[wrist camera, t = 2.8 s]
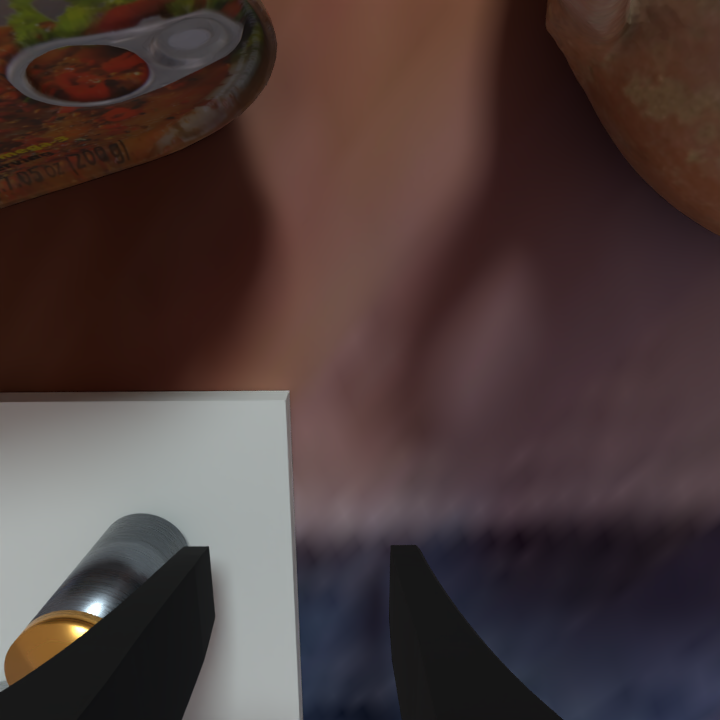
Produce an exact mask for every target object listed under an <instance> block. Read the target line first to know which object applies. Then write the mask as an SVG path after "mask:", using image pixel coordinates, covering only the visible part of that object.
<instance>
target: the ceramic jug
mask: <svg viewBox="0 0 720 720" xmlns="http://www.w3.org/2000/svg"><path fill="white" fill-rule="evenodd" d="M545 25H546V29H547V31H548V32H549V33H550V35H551V36H552V37H553V38H554V40H555V41H556V43H557V46H558V47H559V48H560V49H561V51H562V52H563V53H564V55H565V57H566V59H567V61H568V64H569V66H570V68H571V69H572V71H573V72H574V74H575V77H576V79H577V81H578V82H579V84H580V85H581V86H582V88H583V90H584V91H585V93H586V95H587V97H588V99H589V101H590V102H591V104H592V106H593V108H594V110H595V112H596V114H597V116H598V118H599V119H600V121H601V123H602V125H603V126H604V128H605V129H606V131H607V132H608V134H609V135H610V137H611V139H612V140H613V142H614V143H615V145H616V146H617V147H618V149H619V150H620V152H621V153H622V154H623V156H624V157H625V158H626V160H627V161H628V162H629V164H630V165H631V166H632V167H633V168H634V169H635V171H636V172H637V173H638V174H639V175H640V176H641V177H642V178H643V179H644V180H645V181H646V182H647V183H648V184H649V185H650V186H651V187H652V188H653V189H654V190H655V191H656V192H657V193H658V194H659V195H661V196H662V197H663V198H664V199H665V200H666V201H668V202H669V203H670V204H671V205H672V206H673V207H675V208H676V209H677V210H679V211H680V212H681V213H683V214H684V215H686V216H687V217H689V218H690V219H692V220H693V221H695V222H696V223H698V224H700V225H701V226H703V227H704V228H706V229H708V230H709V231H711V232H713V233H715V234H717V235H719V236H720V0H548V2H547V12H546V22H545Z"/></svg>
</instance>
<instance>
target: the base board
mask: <svg viewBox="0 0 720 720" xmlns="http://www.w3.org/2000/svg"><path fill="white" fill-rule="evenodd" d="M137 513H145V514H152V515H156V516H159V517H161V518H164V519H166V520H167V521H169V522H171V523H172V524H173V525H174V526H176V527H177V528H178V529H179V531H180V532H181V533H182V534H183V536H184V538H185V540H186V542H187V545H188V546H209V551H210V562H211V574H212V585H213V596H214V607H215V621H214V625H213V629H212V633H211V637H210V641H209V645H208V648H207V652H206V656H205V660H204V663H203V665H202V668H201V671H200V674H199V676H198V679H197V681H196V684H195V687H194V689H193V692H192V695H191V697H190V700H189V703H188V705H187V708H186V710H185V713H184V716H183V718H182V720H303V708H302V683H301V659H300V635H299V611H298V587H297V563H296V539H295V515H294V490H293V466H292V442H291V418H290V394H289V391H166V392H7V393H0V682H1V681H7V680H6V677H5V672H4V661H5V657H6V654H7V652H8V650H9V648H10V646H11V645H12V644H13V642H14V641H15V640H16V639H17V638H18V636H19V635H20V634H21V633H22V632H23V630H24V629H25V628H26V627H27V626H28V624H29V623H30V622H31V621H32V620H33V618H34V617H35V616H36V615H37V613H38V612H39V611H40V610H41V609H42V607H43V606H44V605H45V604H46V603H47V601H48V600H49V599H50V598H51V597H52V595H53V594H54V593H55V592H56V591H57V589H58V588H59V587H60V586H61V584H62V583H63V582H64V581H65V580H66V578H67V577H68V576H69V575H70V574H71V572H72V571H73V570H74V569H75V568H76V566H77V565H78V564H79V563H80V562H81V560H82V559H83V558H84V557H85V555H86V554H87V553H88V552H89V551H90V549H91V548H92V547H93V546H94V545H95V543H96V542H97V541H98V540H99V539H100V537H101V536H102V535H103V534H104V533H105V531H106V530H107V529H108V528H109V527H110V525H111V524H113V523H114V522H115V521H116V520H118V519H119V518H122V517H124V516H127V515H130V514H137Z"/></svg>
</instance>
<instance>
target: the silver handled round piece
mask: <svg viewBox="0 0 720 720" xmlns="http://www.w3.org/2000/svg"><path fill="white" fill-rule="evenodd" d="M184 546H188V545H187V542H186V540H185V538H184V536H183V534H182V533H181V532H180V531H179V529H178V528H177V527H176V526H174V525H173V524H172V523H171V522H169V521H167V520H166V519H164V518H161V517H159V516H156V515H152V514H145V513H137V514H130V515H127V516H124V517H122V518H119V519H118V520H116V521H115V522H114V523H113V524H111V525H110V527H109V528H108V529H107V530H106V531H105V533H104V534H103V535H102V536H101V537H100V539H99V540H98V541H97V542H96V543H95V545H94V546H93V547H92V548H91V549H90V551H89V552H88V553H87V554H86V555H85V557H84V558H83V559H82V560H81V562H80V563H79V564H78V565H77V566H76V568H75V569H74V570H73V571H72V572H71V574H70V575H69V576H68V577H67V578H66V580H65V581H64V582H63V583H62V584H61V586H60V587H59V588H58V589H57V591H56V592H55V593H54V594H53V595H52V597H51V598H50V599H49V600H48V601H47V603H46V604H45V605H44V606H43V607H42V609H41V610H40V611H39V612H38V613H37V615H36V616H35V617H34V618H33V620H32V621H31V622H30V623H29V624H28V626H27V627H26V628H25V629H24V630H23V632H22V633H21V634H20V635H19V636H18V638H17V639H16V640H15V641H14V642H13V644H12V645H11V646H10V648H9V650H8V652H7V654H6V657H5V661H4V672H5V677H6V680H7V681H1V682H0V692H1V691H2V690H4V689H6V688H7V687H9V686H10V685H12V684H14V683H15V682H17V681H18V680H20V679H22V678H23V677H25V676H26V675H28V674H29V673H31V672H32V671H34V670H35V669H36V668H38V667H39V666H41V665H42V664H43V663H45V662H46V661H48V660H49V659H51V658H52V657H53V656H55V655H56V654H58V653H59V652H60V651H62V650H63V649H64V648H66V647H67V646H69V645H70V644H71V643H72V642H74V641H75V640H76V639H78V638H79V637H80V636H82V635H83V634H84V633H85V632H86V631H88V630H89V629H90V628H91V627H93V626H94V625H95V624H96V623H97V622H99V621H100V620H101V619H102V618H104V617H105V616H106V615H107V614H108V613H110V612H111V611H112V610H113V609H115V608H116V607H117V606H118V605H119V604H121V603H122V602H123V601H124V600H125V599H126V598H127V597H128V596H130V595H131V594H132V593H133V592H134V591H135V590H136V589H137V588H139V587H140V586H141V585H142V584H143V583H144V582H145V581H146V580H147V579H149V578H150V577H151V576H152V575H153V574H154V573H155V572H156V571H157V570H158V569H159V568H161V567H162V566H163V565H164V564H165V563H166V562H167V561H168V560H169V559H170V558H171V557H172V556H174V555H175V554H176V553H177V552H178V551H179V550H180V549H181V548H183V547H184Z"/></svg>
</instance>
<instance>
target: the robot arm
mask: <svg viewBox="0 0 720 720" xmlns="http://www.w3.org/2000/svg"><path fill="white" fill-rule="evenodd" d="M214 621H215V607H214V596H213V585H212V574H211V562H210V551H209V546H184V547H183V548H181V549H180V550H179V551H178V552H177V553H176V554H175V555H174V556H172V557H171V558H170V559H169V560H168V561H167V562H166V563H165V564H164V565H163V566H162V567H161V568H159V569H158V570H157V571H156V572H155V573H154V574H153V575H152V576H151V577H150V578H149V579H147V580H146V581H145V582H144V583H143V584H142V585H141V586H140V587H139V588H137V589H136V590H135V591H134V592H133V593H132V594H131V595H130V596H128V597H127V598H126V599H125V600H124V601H123V602H122V603H121V604H119V605H118V606H117V607H116V608H115V609H113V610H112V611H111V612H110V613H108V614H107V615H106V616H105V617H104V618H102V619H101V620H100V621H99V622H97V623H96V624H95V625H94V626H93V627H91V628H90V629H89V630H88V631H86V632H85V633H84V634H83V635H82V636H80V637H79V638H78V639H76V640H75V641H74V642H72V643H71V644H70V645H69V646H67V647H66V648H64V649H63V650H62V651H60V652H59V653H58V654H56V655H55V656H53V657H52V658H51V659H49V660H48V661H46V662H45V663H43V664H42V665H41V666H39V667H38V668H36V669H35V670H34V671H32V672H31V673H29V674H28V675H26V676H25V677H23V678H22V679H20V680H18V681H17V682H15V683H14V684H12V685H10V686H9V687H7V688H6V689H4V690H2V691H1V692H0V720H182V718H183V716H184V713H185V710H186V708H187V705H188V703H189V700H190V697H191V695H192V692H193V689H194V687H195V684H196V681H197V679H198V676H199V674H200V671H201V668H202V665H203V663H204V660H205V656H206V652H207V648H208V645H209V641H210V637H211V633H212V629H213V625H214ZM389 623H390V638H391V653H392V663H393V669H394V675H395V681H396V687H397V693H398V699H399V705H400V711H401V717H402V720H563V719H562V718H561V717H559V716H558V715H557V714H556V713H555V712H554V711H553V710H552V709H550V708H549V707H548V706H547V705H546V704H545V703H544V702H542V701H541V700H540V699H539V698H538V697H537V696H536V695H535V694H533V693H532V692H531V691H530V690H529V689H528V688H527V687H526V686H525V685H524V684H523V683H522V682H521V681H520V680H519V679H518V678H517V677H516V676H515V675H514V674H513V673H512V672H511V671H510V670H509V669H508V668H507V667H506V666H505V665H504V664H503V663H502V662H501V661H500V660H499V658H498V657H497V656H496V655H495V654H494V653H493V652H492V651H491V650H490V649H489V647H488V646H487V645H486V644H485V643H484V642H483V640H482V639H481V638H480V637H479V636H478V634H477V633H476V632H475V631H474V629H473V628H472V627H471V626H470V624H469V623H468V622H467V621H466V619H465V618H464V617H463V615H462V614H461V613H460V611H459V610H458V609H457V607H456V606H455V604H454V603H453V602H452V600H451V599H450V597H449V596H448V595H447V593H446V592H445V590H444V589H443V587H442V586H441V584H440V583H439V581H438V580H437V578H436V576H435V575H434V573H433V572H432V570H431V568H430V567H429V565H428V563H427V561H426V560H425V558H424V556H423V554H422V552H421V550H420V549H419V548H418V547H417V546H416V545H391V553H390V597H389Z"/></svg>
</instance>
